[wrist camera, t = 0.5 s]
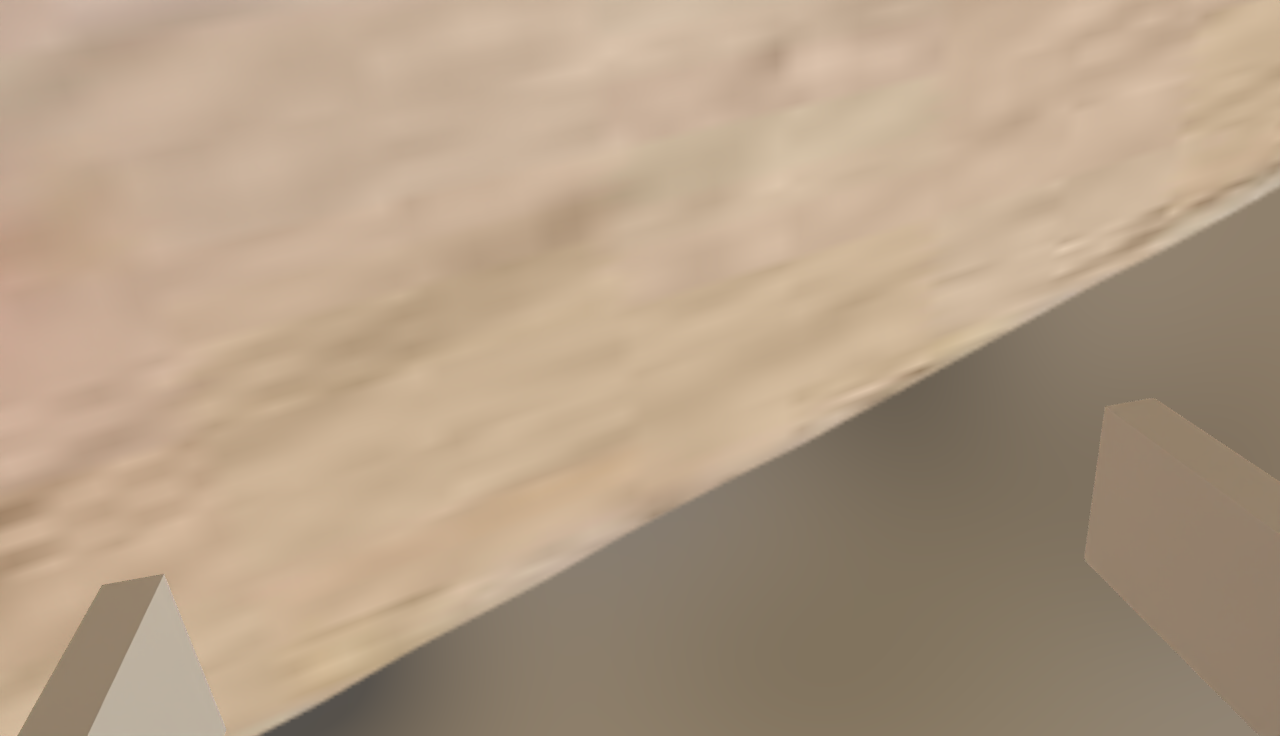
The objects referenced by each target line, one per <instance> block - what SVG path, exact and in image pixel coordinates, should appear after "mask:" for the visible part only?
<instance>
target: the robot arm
mask: <svg viewBox="0 0 1280 736" xmlns="http://www.w3.org/2000/svg"><path fill="white" fill-rule="evenodd" d="M1084 560H1085V561H1086V562H1087V563H1088V564H1089V565H1090V566H1091V567H1092V568H1093V569H1094V570H1095V571H1096V572H1097V573H1098V574H1099V575H1100V576H1101V577H1102V578H1103V579H1104V580H1105V581H1106V582H1107V583H1108V584H1109V585H1110V587H1112V589H1113V590H1115V591H1116V592H1117V594H1118V595H1119V596H1121V598H1122V599H1123V600H1125V602H1126V603H1127V604H1129V606H1130V607H1131V608H1132V609H1133V610H1134V611H1135V612H1136V613H1137V614H1138V615H1139V616H1140V617H1141V618H1142V619H1143V620H1144V621H1145V622H1146V623H1147V624H1148V625H1149V626H1150V627H1151V628H1152V629H1153V630H1154V631H1155V632H1156V633H1157V634H1158V635H1159V636H1160V637H1161V638H1162V639H1163V640H1164V641H1165V642H1166V643H1167V644H1168V645H1169V646H1170V647H1171V648H1172V649H1173V650H1174V651H1175V652H1176V653H1177V654H1178V655H1179V656H1180V657H1181V658H1182V659H1183V660H1184V661H1185V662H1186V663H1187V664H1188V665H1189V666H1190V667H1191V668H1192V669H1193V670H1194V671H1195V672H1196V673H1197V674H1198V675H1199V676H1200V677H1201V678H1202V679H1203V680H1204V681H1205V682H1206V683H1207V684H1208V685H1209V686H1210V687H1211V688H1212V689H1213V690H1214V691H1215V692H1216V693H1217V694H1218V695H1219V696H1220V697H1221V698H1222V699H1223V700H1224V701H1225V702H1226V703H1227V704H1228V705H1229V706H1230V707H1231V708H1232V709H1233V710H1234V711H1235V712H1236V713H1237V714H1238V715H1239V716H1240V717H1241V718H1242V719H1243V720H1244V721H1245V722H1246V723H1247V724H1248V725H1249V726H1250V727H1251V728H1252V729H1253V730H1254V731H1255V732H1256V733H1257V734H1258V735H1259V736H1280V482H1279V481H1278V480H1276V479H1275V478H1273V477H1272V476H1270V475H1269V474H1267V473H1266V472H1264V471H1263V470H1261V469H1260V468H1258V467H1257V466H1255V465H1254V464H1252V463H1250V462H1249V461H1248V460H1246V459H1245V458H1243V457H1241V456H1240V455H1239V454H1237V453H1236V452H1234V451H1233V450H1231V449H1229V448H1228V447H1227V446H1225V445H1224V444H1222V443H1221V442H1219V441H1218V440H1216V439H1215V438H1213V437H1212V436H1210V435H1209V434H1207V433H1206V432H1204V431H1203V430H1201V429H1200V428H1198V427H1197V426H1195V425H1194V424H1192V423H1191V422H1189V421H1188V420H1186V419H1185V418H1183V417H1182V416H1180V415H1179V414H1177V413H1176V412H1174V411H1173V410H1171V409H1170V408H1168V407H1167V406H1165V405H1164V404H1162V403H1161V402H1159V401H1158V400H1156V399H1155V398H1150V399H1144V400H1138V401H1132V402H1126V403H1121V404H1115V405H1110V406H1105V411H1104V418H1103V425H1102V432H1101V439H1100V447H1099V454H1098V461H1097V468H1096V475H1095V484H1094V490H1093V498H1092V505H1091V512H1090V520H1089V527H1088V534H1087V542H1086V549H1085V556H1084ZM225 732H226V727H225V725H224V722H223V720H222V717H221V715H220V712H219V710H218V707H217V705H216V702H215V700H214V697H213V695H212V692H211V690H210V687H209V685H208V682H207V680H206V677H205V675H204V672H203V670H202V667H201V665H200V662H199V660H198V657H197V655H196V652H195V650H194V647H193V645H192V642H191V640H190V637H189V635H188V632H187V630H186V627H185V625H184V622H183V620H182V617H181V615H180V612H179V610H178V607H177V605H176V602H175V600H174V597H173V595H172V593H171V590H170V588H169V585H168V583H167V580H166V578H165V575H164V574H161V575H156V576H150V577H145V578H139V579H133V580H128V581H122V582H117V583H111V584H105V585H102V586H101V588H100V590H99V591H98V593H97V595H96V597H95V599H94V600H93V602H92V604H91V606H90V608H89V609H88V611H87V613H86V615H85V616H84V618H83V620H82V622H81V624H80V625H79V627H78V629H77V631H76V632H75V634H74V636H73V638H72V640H71V641H70V643H69V645H68V647H67V648H66V650H65V652H64V654H63V656H62V657H61V659H60V661H59V663H58V665H57V666H56V668H55V670H54V672H53V673H52V675H51V677H50V679H49V681H48V682H47V684H46V686H45V688H44V689H43V691H42V693H41V695H40V697H39V698H38V700H37V702H36V704H35V705H34V707H33V709H32V711H31V713H30V714H29V716H28V718H27V720H26V722H25V723H24V725H23V727H22V729H21V730H20V732H19V734H18V736H224V735H225Z"/></svg>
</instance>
